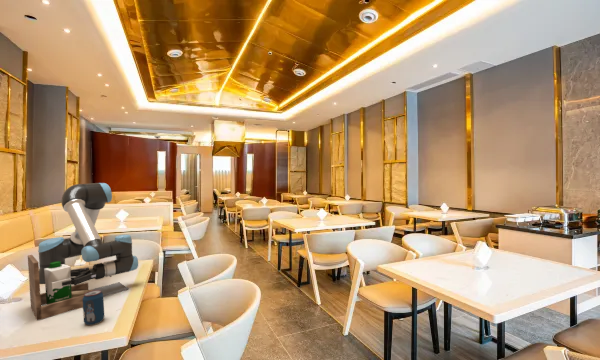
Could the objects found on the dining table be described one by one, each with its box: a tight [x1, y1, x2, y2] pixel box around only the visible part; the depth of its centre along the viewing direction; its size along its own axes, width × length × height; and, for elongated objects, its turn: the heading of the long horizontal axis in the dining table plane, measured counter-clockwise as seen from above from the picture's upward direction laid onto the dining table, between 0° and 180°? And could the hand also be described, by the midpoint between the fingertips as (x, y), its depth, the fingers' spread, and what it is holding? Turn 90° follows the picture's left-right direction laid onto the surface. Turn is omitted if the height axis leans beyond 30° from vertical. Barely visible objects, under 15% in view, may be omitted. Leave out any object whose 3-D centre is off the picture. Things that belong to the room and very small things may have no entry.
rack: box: [27, 254, 89, 321], centre depth 140 cm, size 22×20×24 cm
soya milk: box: [44, 261, 72, 305], centre depth 138 cm, size 9×9×20 cm
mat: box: [90, 282, 129, 298], centre depth 156 cm, size 14×14×1 cm
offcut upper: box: [72, 288, 94, 298], centre depth 144 cm, size 4×11×2 cm, turn 102°
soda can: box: [82, 290, 105, 326], centre depth 122 cm, size 7×7×12 cm
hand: (49, 282), depth 136 cm, fingers open, 13 cm apart
